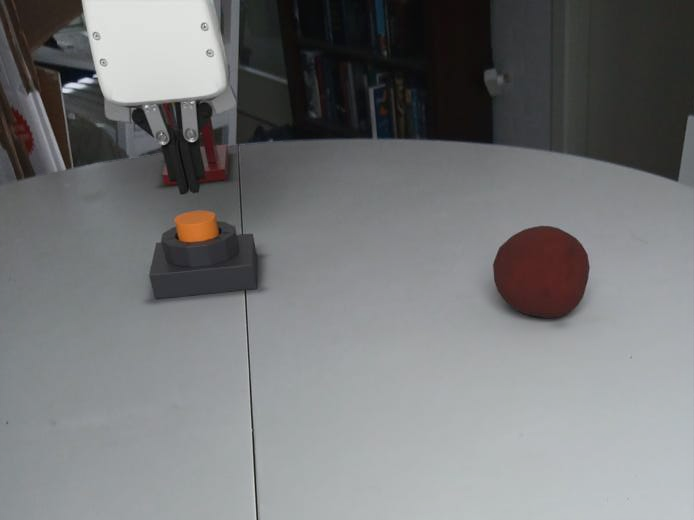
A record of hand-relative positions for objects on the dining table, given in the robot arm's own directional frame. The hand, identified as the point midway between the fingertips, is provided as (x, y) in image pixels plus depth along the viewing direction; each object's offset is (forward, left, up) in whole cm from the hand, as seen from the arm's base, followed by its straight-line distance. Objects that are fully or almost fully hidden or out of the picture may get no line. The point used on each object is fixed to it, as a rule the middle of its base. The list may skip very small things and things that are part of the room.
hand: (190, 188), depth 86 cm
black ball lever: (-3, +31, -2) cm, 31 cm away
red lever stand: (-3, +34, -8) cm, 35 cm away
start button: (0, 0, -4) cm, 4 cm away
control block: (0, 0, -8) cm, 8 cm away
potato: (+28, -15, -8) cm, 33 cm away
